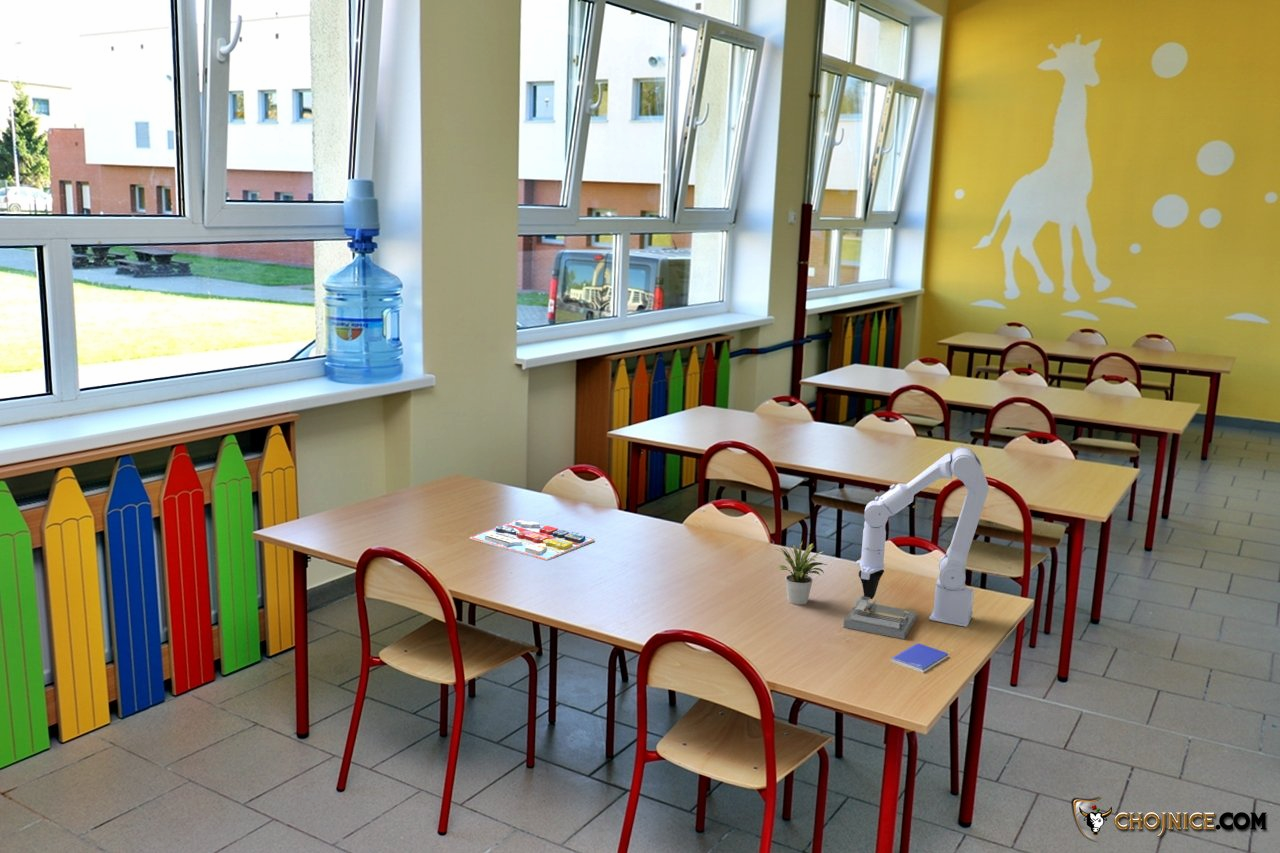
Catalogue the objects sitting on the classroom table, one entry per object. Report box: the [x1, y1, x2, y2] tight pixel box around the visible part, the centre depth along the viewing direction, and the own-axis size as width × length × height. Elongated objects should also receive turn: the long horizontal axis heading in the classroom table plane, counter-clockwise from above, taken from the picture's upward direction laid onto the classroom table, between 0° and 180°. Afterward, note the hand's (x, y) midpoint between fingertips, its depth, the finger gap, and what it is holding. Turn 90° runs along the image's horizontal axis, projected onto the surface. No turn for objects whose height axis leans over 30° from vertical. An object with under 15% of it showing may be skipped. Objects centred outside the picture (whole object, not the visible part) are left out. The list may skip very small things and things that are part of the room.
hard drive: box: [890, 642, 949, 674], centre depth 255 cm, size 2×8×12 cm
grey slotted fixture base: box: [843, 600, 918, 640], centre depth 275 cm, size 15×15×4 cm
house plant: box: [775, 541, 828, 606], centre depth 286 cm, size 14×14×16 cm
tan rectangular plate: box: [864, 610, 900, 618], centre depth 274 cm, size 11×3×1 cm, turn 65°
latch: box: [855, 595, 871, 611], centre depth 277 cm, size 3×5×3 cm, turn 155°
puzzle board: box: [469, 518, 596, 562], centre depth 331 cm, size 30×23×3 cm
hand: (869, 597), depth 284 cm, fingers closed
